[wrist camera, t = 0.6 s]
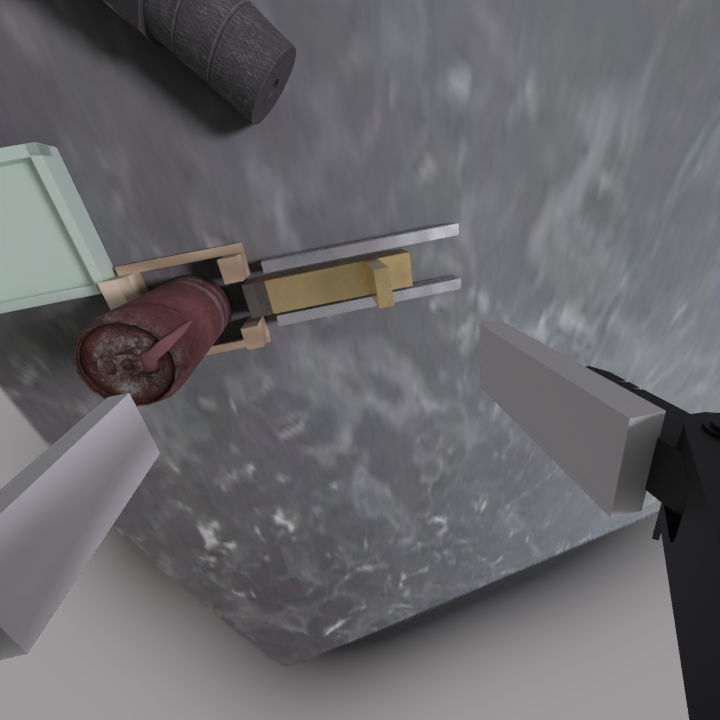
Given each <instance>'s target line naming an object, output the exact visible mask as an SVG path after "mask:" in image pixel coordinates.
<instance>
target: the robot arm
mask: <svg viewBox="0 0 720 720" xmlns="http://www.w3.org/2000/svg"><path fill="white" fill-rule="evenodd" d="M479 325H480V381H481V388H482V389H483V390H484V391H485V392H486V393H487V394H488V395H489V396H490V397H491V398H492V399H493V400H494V401H495V402H496V403H497V404H498V405H499V406H500V407H501V408H502V409H503V410H504V411H505V412H506V413H507V414H508V415H509V416H510V417H511V418H512V419H513V420H514V421H515V422H516V423H517V424H518V425H519V426H520V427H521V428H522V429H523V430H524V431H525V432H526V433H527V434H528V435H529V436H530V437H531V438H532V439H533V440H534V441H535V442H536V443H537V444H538V445H539V446H540V447H541V448H542V449H543V450H544V451H545V452H546V453H547V454H548V455H549V456H550V457H551V458H552V459H553V460H554V461H555V462H556V463H557V464H558V465H559V466H560V467H561V468H562V469H563V470H564V471H565V472H566V473H567V474H568V475H569V476H570V477H571V478H572V479H573V480H574V481H575V482H576V483H577V484H578V485H579V486H580V487H581V488H582V490H583V491H584V492H585V493H586V494H587V495H588V496H589V497H590V498H591V499H592V500H593V501H594V502H595V503H596V504H597V505H598V506H599V507H600V508H601V509H602V510H603V511H604V512H605V513H606V514H607V515H608V516H609V517H610V518H612V517H616V516H620V515H624V514H629V513H633V512H637V511H641V510H642V506H643V502H644V498H645V494H646V490H647V491H648V492H649V493H651V494H652V495H653V496H654V497H656V498H657V499H658V500H659V501H660V502H662V503H661V507H660V510H659V514H658V518H657V521H656V525H655V529H654V532H653V537H652V539H656V540H659V537H660V534H662V540H663V546H664V554H665V560H666V567H667V573H668V580H669V586H670V594H671V600H672V607H673V614H674V619H675V627H676V634H677V640H678V647H679V654H680V660H681V667H682V674H683V680H684V687H685V694H686V701H687V707H688V714H689V720H720V413H710V412H703V413H695V414H690V413H688V412H686V411H684V410H682V409H680V408H678V407H676V406H674V405H672V404H670V403H668V402H666V401H664V400H662V399H661V398H659V397H657V396H655V395H653V394H651V393H649V392H647V391H645V390H643V389H642V390H640V389H639V387H637V386H635V385H634V384H632V383H630V382H627V383H626V381H625V380H624V379H622V378H620V377H618V376H616V375H614V374H612V373H610V372H608V371H604V370H601V369H597V368H594V367H590V366H587V367H584V366H583V365H581V364H579V363H577V362H575V361H573V360H572V359H570V358H568V357H566V356H564V355H562V354H561V353H559V352H557V351H555V350H553V349H551V348H550V347H548V346H546V345H544V344H542V343H540V342H539V341H537V340H535V339H533V338H531V337H529V336H528V335H526V334H524V333H522V332H520V331H518V330H517V329H515V328H513V327H511V326H509V325H507V324H506V323H504V322H502V321H500V320H495V321H490V322H485V323H480V324H479ZM159 454H160V452H159V450H158V449H157V447H156V445H155V443H154V441H153V439H152V437H151V435H150V433H149V431H148V429H147V427H146V425H145V423H144V421H143V419H142V417H141V415H140V413H139V411H138V409H137V407H136V405H135V403H134V401H133V399H132V397H131V395H130V393H126V394H121V395H116V396H111V397H107V398H106V399H105V400H104V401H103V402H102V403H100V404H99V405H98V406H97V407H96V408H95V409H93V410H92V411H91V412H90V413H89V414H88V415H86V416H85V417H84V418H83V419H82V420H81V421H80V422H78V423H77V424H76V425H75V426H74V427H73V428H71V429H70V430H69V431H68V432H67V433H66V434H64V435H63V436H62V437H61V438H60V439H59V440H57V441H56V442H55V443H54V444H53V445H52V446H50V447H49V448H48V449H47V450H46V451H45V452H43V453H42V454H41V455H40V456H39V457H38V458H36V460H34V461H33V462H32V463H31V464H29V465H28V466H27V467H26V468H25V469H24V470H23V471H21V472H20V473H19V474H18V475H17V476H15V477H14V478H13V479H12V480H11V481H10V482H9V483H7V484H6V485H5V486H4V487H3V488H2V489H0V660H2V659H7V658H11V657H15V656H19V655H23V654H27V653H28V652H29V651H30V649H31V648H32V646H33V645H34V643H35V642H36V640H37V639H38V637H39V635H40V634H41V632H42V631H43V629H44V628H45V626H46V625H47V623H48V622H49V620H50V619H51V617H52V616H53V614H54V613H55V611H56V610H57V608H58V607H59V605H60V604H61V602H62V601H63V599H64V598H65V596H66V595H67V593H68V591H69V590H70V589H71V587H72V586H73V584H74V583H75V581H76V580H77V578H78V577H79V575H80V573H81V572H82V570H83V569H84V567H85V566H86V564H87V563H88V561H89V560H90V558H91V557H92V555H93V554H94V552H95V551H96V549H97V548H98V546H99V545H100V543H101V542H102V540H103V539H104V537H105V535H106V534H107V533H108V531H109V530H110V528H111V527H112V525H113V524H114V522H115V521H116V519H117V518H118V516H119V515H120V513H121V512H122V510H123V508H124V507H125V505H126V504H127V502H128V501H129V499H130V498H131V496H132V495H133V493H134V492H135V490H136V489H137V487H138V486H139V484H140V483H141V481H142V480H143V478H144V477H145V475H146V474H147V472H148V471H149V469H150V468H151V466H152V465H153V463H154V462H155V460H156V459H157V457H158V456H159Z"/></svg>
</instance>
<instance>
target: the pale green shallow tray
mask: <svg viewBox="0 0 720 720" xmlns="http://www.w3.org/2000/svg"><path fill="white" fill-rule="evenodd" d="M115 277H118V276H117V274H116V272H115V270H114V267H113V265H112V263H111V261H110V259H109V257H108V255H107V253H106V251H105V248H104V246H103V244H102V242H101V240H100V238H99V236H98V234H97V232H96V229H95V227H94V225H93V223H92V221H91V219H90V217H89V215H88V213H87V210H86V208H85V206H84V204H83V202H82V200H81V198H80V196H79V194H78V191H77V189H76V187H75V185H74V183H73V181H72V179H71V177H70V175H69V172H68V170H67V168H66V166H65V164H64V162H63V160H62V158H61V156H60V153H59V151H58V149H57V147H53V146H49V145H45V144H41V143H37V142H33V143H27V144H21V145H15V146H10V147H4V148H0V313H5V312H11V311H16V310H21V309H26V308H31V307H36V306H41V305H46V304H51V303H56V302H61V301H67V300H72V299H77V298H82V297H87V296H92V295H97V294H102V292H101V290H100V288H99V286H98V284H97V283H100V282H103V281H106V280H109V279H112V278H115Z"/></svg>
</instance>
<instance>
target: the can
mask: <svg viewBox="0 0 720 720" xmlns="http://www.w3.org/2000/svg"><path fill="white" fill-rule="evenodd" d="M231 311H232V309H231V305H230V300H229V298H228V297H227V295H226V293H225V291H224V290H223V289H222V288H221V287H220V286H219V285H218V284H217V283H215V282H214V281H212V280H210V279H208V278H206V277H202V276H198V275H185V276H182V277H179V278H177V279H175V280H172V281H170V282H168V283H166V284H164V285H162V286H160V287H158V288H156V289H154V290H152V291H150V292H148V293H146V294H143V295H141V296H139V297H137V298H135V299H133V300H131V301H129V302H127V303H125V304H123V305H121V306H119V307H117V308H115V309H112V310H110V311H108V312H106V313H104V314H102V315H100V316H98V317H96V318H94V319H92V320H91V321H90V322H89V323H88V324H87V325H86V326H85V327H84V328H83V329H82V331H81V333H80V336H79V339H78V341H77V344H76V346H75V349H74V365H75V367H76V369H77V371H78V374H79V376H80V378H81V379H82V380H83V381H84V382H85V384H86V385H87V386H88V387H89V388H90V389H91V390H92V391H94V392H95V393H96V394H98V395H99V396H101V397H102V398H104V399H106V398H107V397H111V396H116V395H121V394H126V393H130V395H131V397H132V399H133V401H134V403H135V405H136V406H143V405H150V404H152V403H155V402H159V401H161V400H164V399H166V398H169V397H171V396H172V395H173V394H174V393H175V392H177V391H178V390H179V389H180V388H181V387H182V385H183V384H184V383H185V382H186V380H187V379H188V378H189V376H190V375H191V374H192V372H193V371H194V370H195V368H196V367H197V366H198V364H199V363H200V362H201V360H202V359H203V358H204V356H205V355H206V354H207V352H208V351H209V350H210V348H211V347H212V346H213V344H214V343H215V342H216V340H217V339H218V338H219V336H220V335H221V334H222V332H223V331H224V330H225V328H226V327H227V325H228V323H229V321H230V319H231Z"/></svg>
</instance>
